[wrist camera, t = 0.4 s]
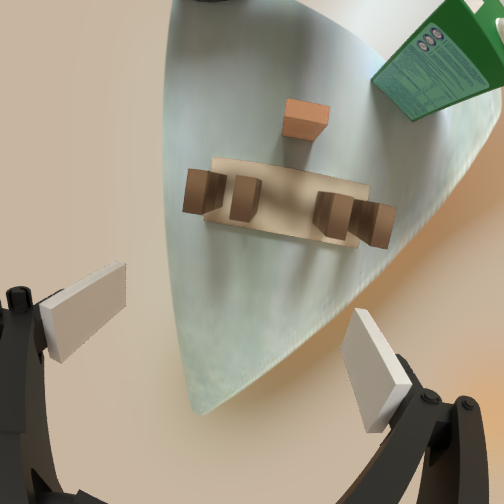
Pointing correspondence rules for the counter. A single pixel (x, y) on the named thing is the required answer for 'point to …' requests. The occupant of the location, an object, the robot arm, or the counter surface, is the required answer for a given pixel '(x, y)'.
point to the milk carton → (447, 58)
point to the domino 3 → (333, 214)
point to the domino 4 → (372, 222)
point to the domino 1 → (203, 191)
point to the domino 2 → (245, 198)
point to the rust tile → (304, 119)
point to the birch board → (284, 199)
